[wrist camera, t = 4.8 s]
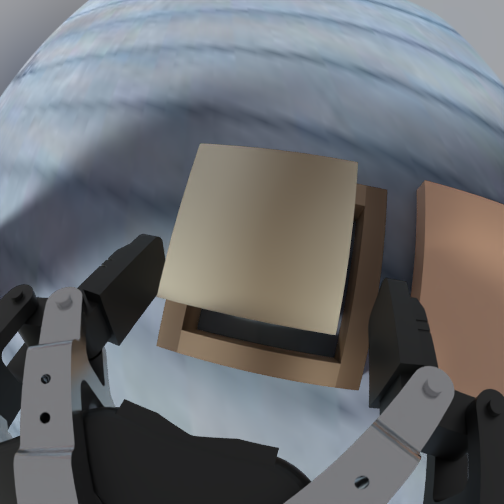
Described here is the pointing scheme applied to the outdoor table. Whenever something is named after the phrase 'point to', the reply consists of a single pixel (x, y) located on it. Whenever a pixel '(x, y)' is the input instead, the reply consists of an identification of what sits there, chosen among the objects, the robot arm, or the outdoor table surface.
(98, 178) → the outdoor table surface
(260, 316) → the ash block
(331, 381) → the walnut pocket frame
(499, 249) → the terracotta tile
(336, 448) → the outdoor table surface
